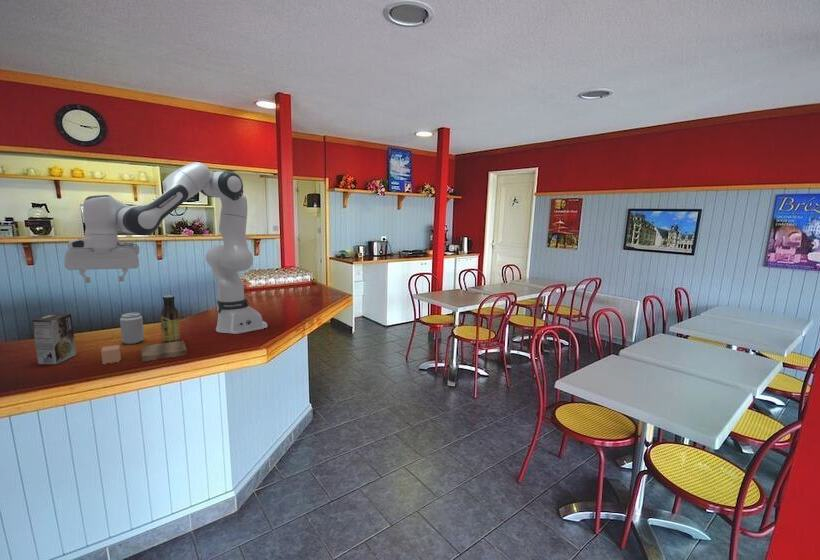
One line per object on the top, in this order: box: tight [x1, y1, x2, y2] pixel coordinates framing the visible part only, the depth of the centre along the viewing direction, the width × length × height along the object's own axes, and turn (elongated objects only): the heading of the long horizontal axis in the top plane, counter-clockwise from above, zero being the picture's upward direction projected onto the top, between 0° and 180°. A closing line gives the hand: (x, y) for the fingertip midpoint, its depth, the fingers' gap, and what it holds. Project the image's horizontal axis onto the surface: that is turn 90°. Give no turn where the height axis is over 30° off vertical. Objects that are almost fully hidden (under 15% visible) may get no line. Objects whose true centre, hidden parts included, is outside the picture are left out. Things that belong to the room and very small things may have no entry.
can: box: [119, 312, 145, 345], centre depth 157 cm, size 8×8×12 cm
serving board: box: [141, 340, 188, 363], centre depth 146 cm, size 14×13×2 cm
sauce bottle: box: [160, 294, 180, 343], centre depth 157 cm, size 7×6×20 cm
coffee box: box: [31, 312, 77, 365], centre depth 136 cm, size 9×6×16 cm
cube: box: [100, 344, 122, 365], centre depth 137 cm, size 5×5×5 cm
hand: (105, 281), depth 134 cm, fingers open, 8 cm apart
